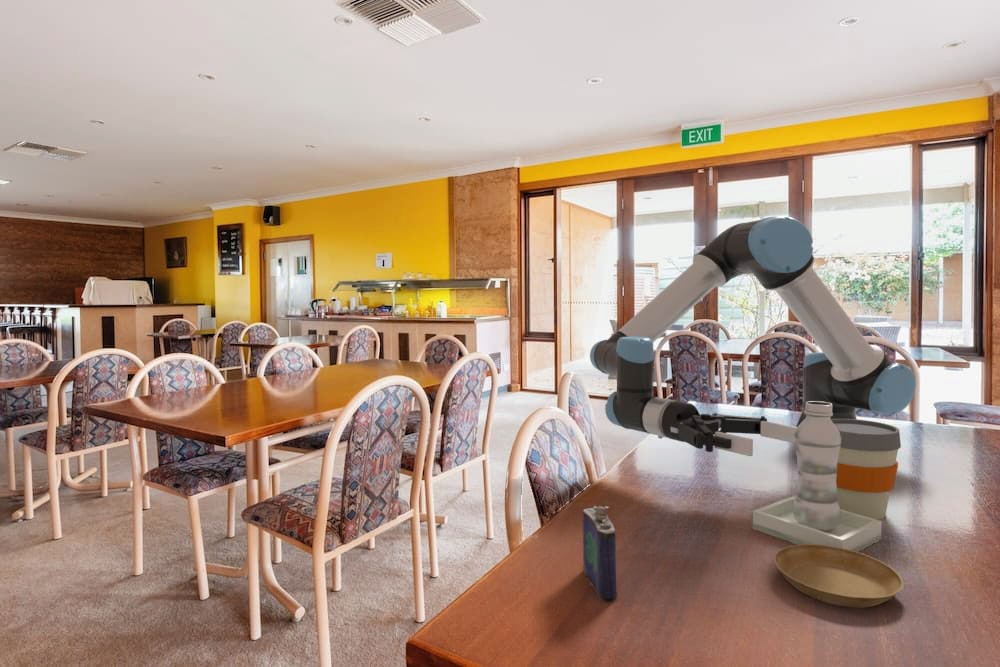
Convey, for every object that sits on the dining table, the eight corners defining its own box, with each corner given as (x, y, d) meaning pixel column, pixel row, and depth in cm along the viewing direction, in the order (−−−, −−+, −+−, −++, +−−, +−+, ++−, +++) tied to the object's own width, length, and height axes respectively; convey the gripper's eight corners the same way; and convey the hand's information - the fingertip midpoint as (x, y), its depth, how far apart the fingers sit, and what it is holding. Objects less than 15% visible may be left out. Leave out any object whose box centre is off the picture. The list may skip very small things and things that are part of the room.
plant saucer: (932, 606, 73) (933, 585, 73) (837, 627, 69) (838, 605, 68) (833, 555, 87) (833, 538, 87) (749, 570, 83) (749, 552, 82)
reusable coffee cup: (870, 529, 95) (873, 438, 94) (799, 505, 106) (801, 423, 105) (914, 515, 101) (917, 429, 100) (842, 493, 112) (844, 415, 111)
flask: (580, 569, 83) (580, 495, 82) (600, 568, 83) (600, 493, 83) (600, 603, 74) (600, 520, 73) (623, 602, 74) (623, 519, 73)
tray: (793, 512, 103) (793, 495, 103) (881, 540, 91) (881, 521, 91) (752, 528, 96) (753, 510, 96) (842, 560, 85) (842, 540, 84)
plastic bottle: (846, 537, 90) (850, 407, 89) (798, 534, 91) (801, 406, 90) (831, 521, 96) (835, 400, 95) (787, 518, 98) (790, 399, 96)
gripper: (711, 429, 123) (813, 451, 106) (627, 448, 109) (729, 477, 92) (711, 393, 123) (814, 409, 106) (628, 408, 109) (730, 429, 91)
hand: (775, 441), depth 99 cm, fingers open, 13 cm apart
